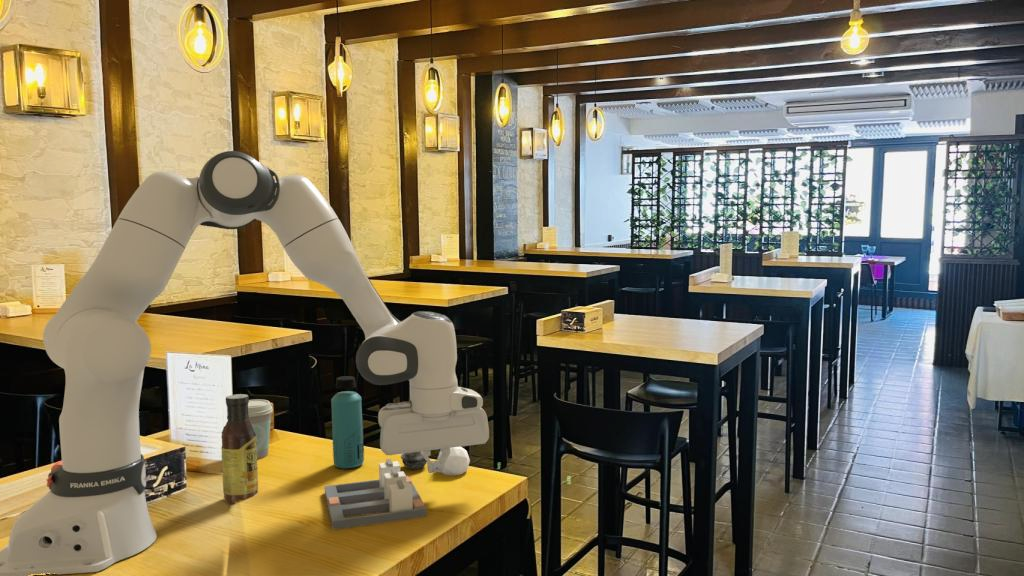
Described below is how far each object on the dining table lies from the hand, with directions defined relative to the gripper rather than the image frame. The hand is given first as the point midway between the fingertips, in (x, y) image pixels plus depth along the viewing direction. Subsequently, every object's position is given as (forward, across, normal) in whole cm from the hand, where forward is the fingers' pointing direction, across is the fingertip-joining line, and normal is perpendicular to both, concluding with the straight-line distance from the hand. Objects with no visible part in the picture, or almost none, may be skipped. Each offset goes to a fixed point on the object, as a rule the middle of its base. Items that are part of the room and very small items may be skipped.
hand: (436, 471), depth 135 cm
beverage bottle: (+6, -14, +23) cm, 27 cm away
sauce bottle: (+6, -35, +14) cm, 38 cm away
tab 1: (+4, -8, +6) cm, 11 cm away
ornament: (+6, +6, +12) cm, 14 cm away
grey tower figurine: (+6, -1, +17) cm, 18 cm away
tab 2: (+4, -8, 0) cm, 9 cm away
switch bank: (+6, -12, 0) cm, 13 cm away
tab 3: (+4, -8, -6) cm, 11 cm away
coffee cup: (+6, -33, +40) cm, 52 cm away
